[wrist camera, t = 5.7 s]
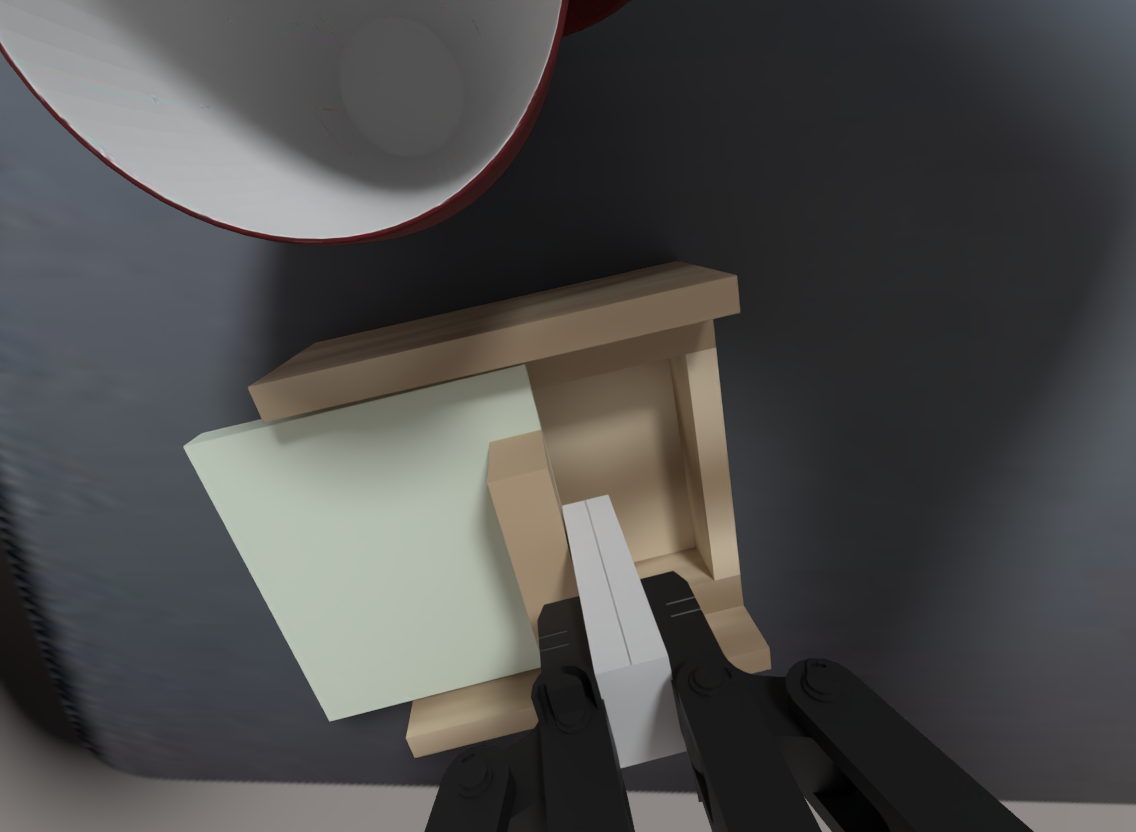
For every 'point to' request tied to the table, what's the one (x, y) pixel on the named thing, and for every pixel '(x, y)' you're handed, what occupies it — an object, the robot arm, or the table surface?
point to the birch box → (576, 437)
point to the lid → (399, 535)
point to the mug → (298, 102)
